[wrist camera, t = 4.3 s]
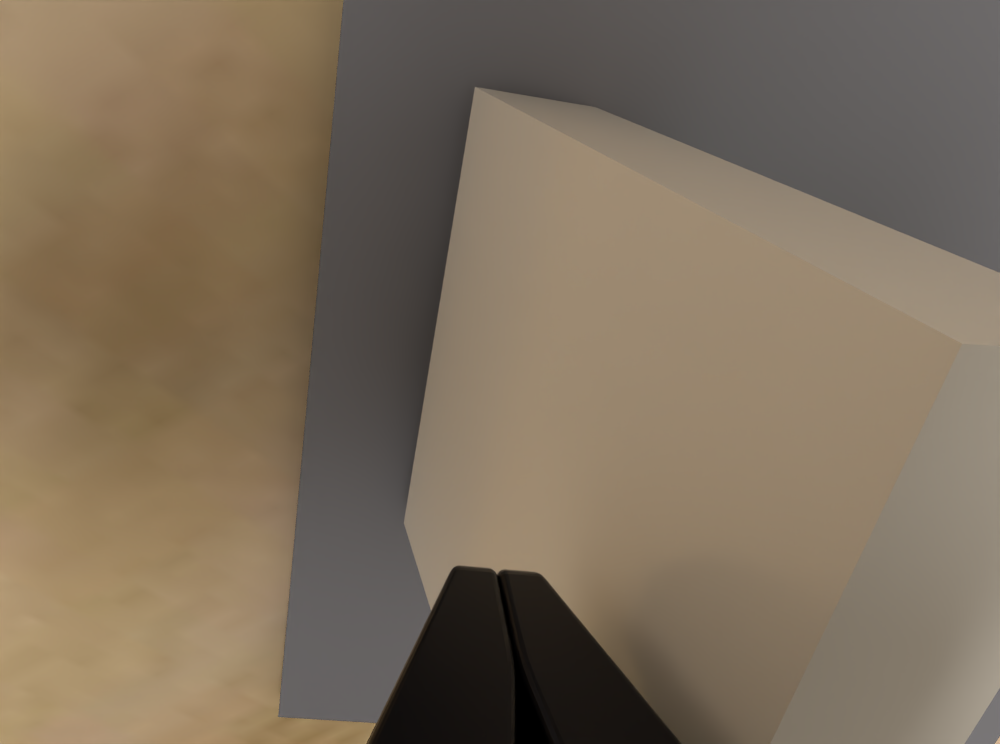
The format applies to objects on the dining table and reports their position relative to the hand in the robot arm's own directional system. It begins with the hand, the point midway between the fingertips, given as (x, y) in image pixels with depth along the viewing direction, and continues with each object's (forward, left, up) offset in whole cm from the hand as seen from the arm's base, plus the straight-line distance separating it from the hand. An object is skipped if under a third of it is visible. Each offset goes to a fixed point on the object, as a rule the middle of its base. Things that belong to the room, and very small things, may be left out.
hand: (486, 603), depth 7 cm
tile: (0, -1, -7) cm, 7 cm away
